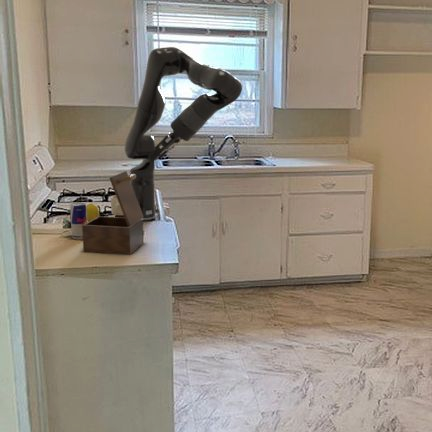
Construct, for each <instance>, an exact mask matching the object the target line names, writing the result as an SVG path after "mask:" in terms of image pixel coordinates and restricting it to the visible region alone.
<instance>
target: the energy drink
mask: <svg viewBox="0 0 432 432" xmlns="http://www.w3.org/2000/svg"><path fill="white" fill-rule="evenodd" d="M69 211H70V229H71V238H72V239H73V240H83V233H82V225H84V224H85V223H87V222H88V221H87V204H86V203H85V202H73V203H70V206H69Z"/></svg>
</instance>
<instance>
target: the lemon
mask: <svg viewBox="0 0 432 432" xmlns="http://www.w3.org/2000/svg"><path fill="white" fill-rule="evenodd" d="M86 206H87V222H89V221H91V220H93V219H94V218H96V217H98V216H100V210H99V207H98V206H97V205H96V204H94V203H91V202H90V203H88V204H86Z"/></svg>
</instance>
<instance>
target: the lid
mask: <svg viewBox="0 0 432 432" xmlns="http://www.w3.org/2000/svg"><path fill="white" fill-rule="evenodd" d="M135 178H136V175H135V174H131V175H130V174H128V172H127V171H126V170H125V171H123V172H120V173H117V174H115V175H112V176H111V177H109V178H108V179H109V181H110V184H111V186H112V188H113V192H114V195H116V197H117V199H118V202H119V204H120V207H121V209H122V212H123V215H124V217H125V220H126V222H127V225H128V227H129V226H131V225H133V224H134V223H136V222H137V221H139V220H140V219H142V218H143V217H144V216H143V213H142V211H141V208H140V206H139V203H138V200H137V198H136V195H135V192H134V190H133V187H132V185H131V182H130V181H131V180H133V179H135Z"/></svg>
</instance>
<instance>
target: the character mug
mask: <svg viewBox="0 0 432 432" xmlns="http://www.w3.org/2000/svg"><path fill="white" fill-rule="evenodd" d="M110 212H111V214H112V215H114V217H122V218H125V217H124V215H123V212H122V209H121V207H120V204H119V202H118V199H117V197H116V194H114V195H111V196H110Z"/></svg>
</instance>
